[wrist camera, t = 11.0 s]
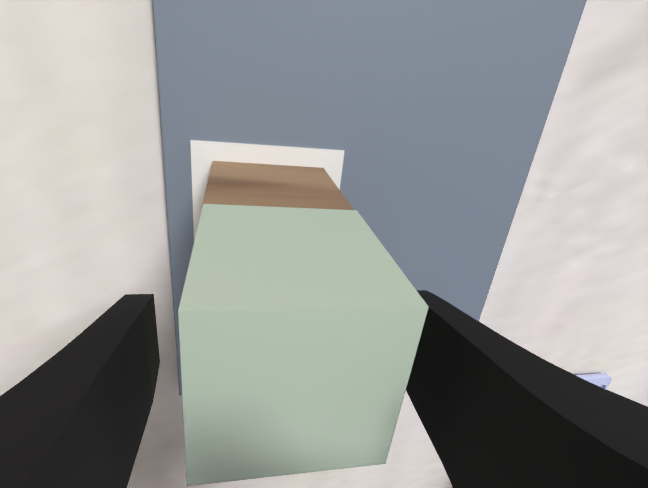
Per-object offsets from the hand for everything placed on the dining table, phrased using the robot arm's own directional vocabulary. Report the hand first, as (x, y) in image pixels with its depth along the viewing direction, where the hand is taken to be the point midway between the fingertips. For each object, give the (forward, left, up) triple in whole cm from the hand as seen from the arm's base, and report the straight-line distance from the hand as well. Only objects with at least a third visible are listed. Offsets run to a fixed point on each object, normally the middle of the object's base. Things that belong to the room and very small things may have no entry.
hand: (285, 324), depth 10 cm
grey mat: (0, -4, -8) cm, 9 cm away
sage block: (0, 0, -2) cm, 2 cm away
